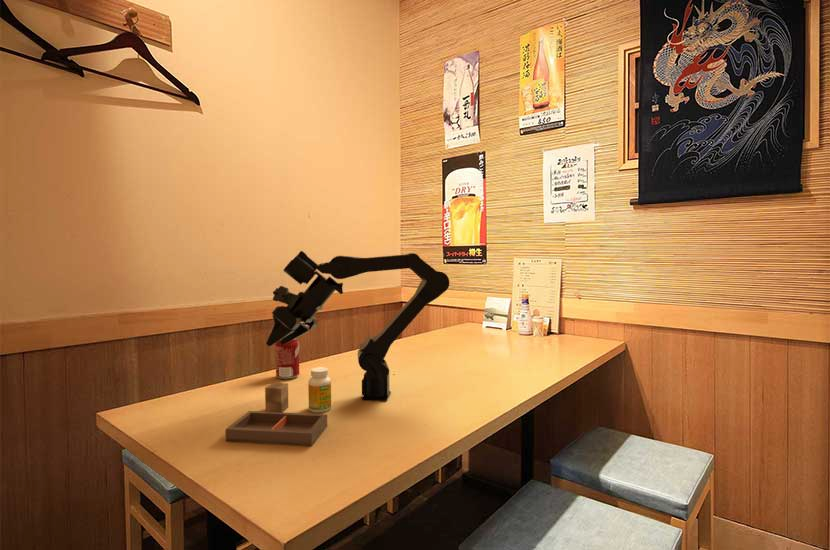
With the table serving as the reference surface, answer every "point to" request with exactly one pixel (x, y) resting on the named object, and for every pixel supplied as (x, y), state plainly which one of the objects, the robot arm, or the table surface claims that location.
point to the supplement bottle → (319, 390)
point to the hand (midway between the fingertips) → (274, 344)
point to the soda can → (287, 359)
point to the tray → (277, 428)
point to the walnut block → (276, 397)
